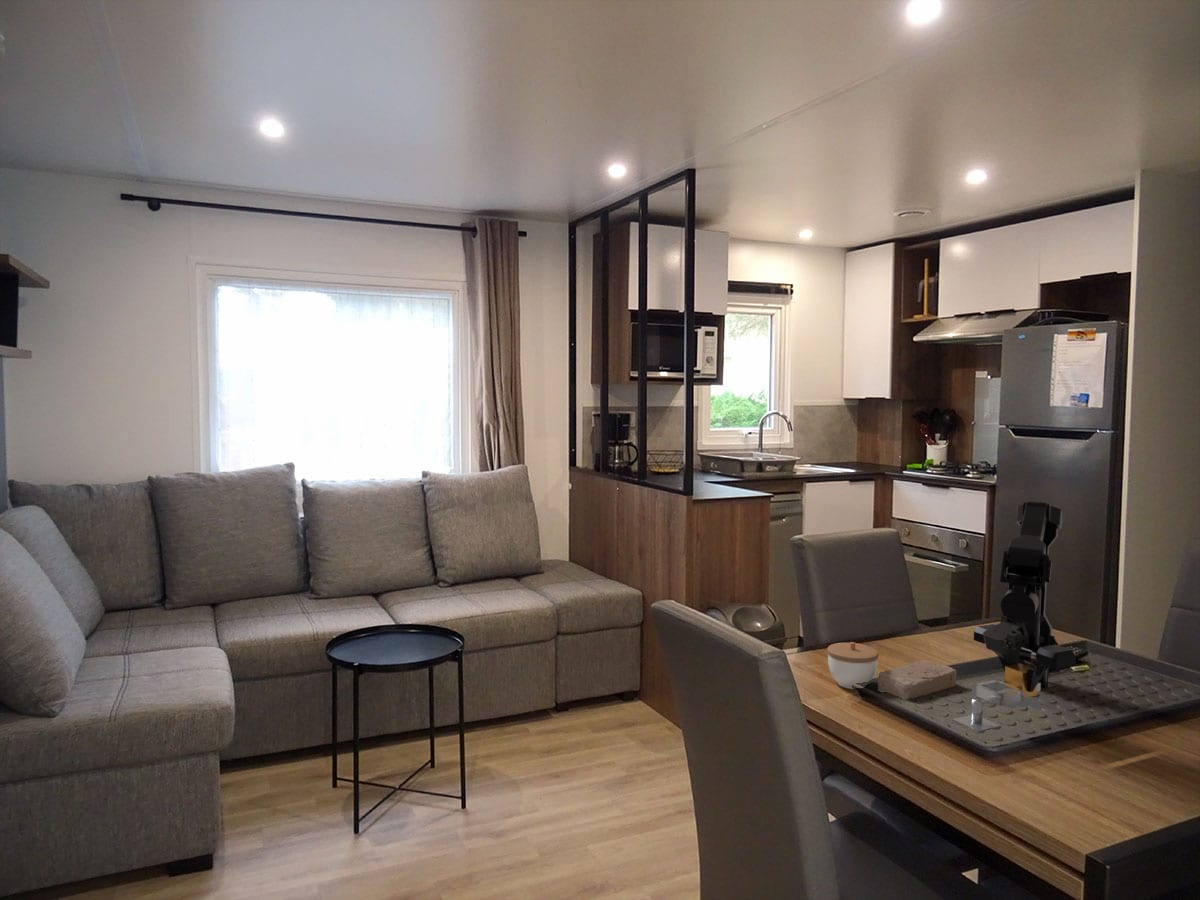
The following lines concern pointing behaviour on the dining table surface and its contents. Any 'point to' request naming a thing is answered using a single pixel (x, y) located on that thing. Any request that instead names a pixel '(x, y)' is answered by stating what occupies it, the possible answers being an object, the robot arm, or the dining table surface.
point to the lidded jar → (852, 663)
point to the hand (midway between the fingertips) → (1020, 687)
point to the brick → (917, 679)
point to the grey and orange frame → (1006, 687)
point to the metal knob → (976, 718)
